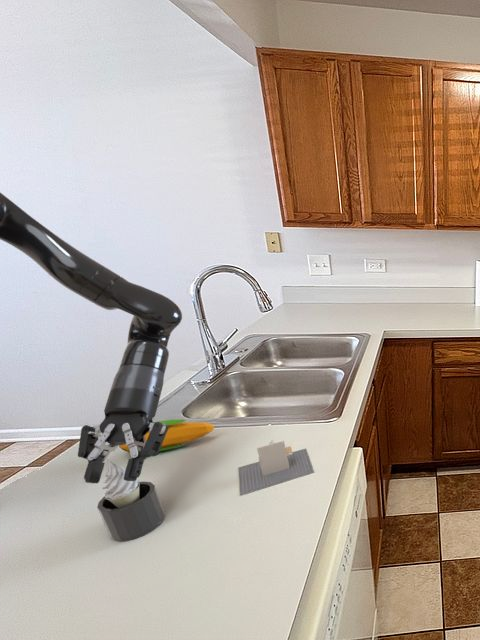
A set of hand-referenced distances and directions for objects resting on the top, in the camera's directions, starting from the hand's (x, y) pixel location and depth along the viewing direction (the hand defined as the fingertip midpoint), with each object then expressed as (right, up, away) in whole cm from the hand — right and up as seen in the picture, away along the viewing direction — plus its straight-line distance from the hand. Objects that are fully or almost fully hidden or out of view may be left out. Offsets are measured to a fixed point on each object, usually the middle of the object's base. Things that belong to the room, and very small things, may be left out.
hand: (111, 481), depth 71 cm
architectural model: (+18, -4, +22) cm, 29 cm away
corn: (-13, -1, +31) cm, 33 cm away
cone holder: (0, -10, +6) cm, 12 cm away
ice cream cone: (0, -10, +6) cm, 12 cm away
